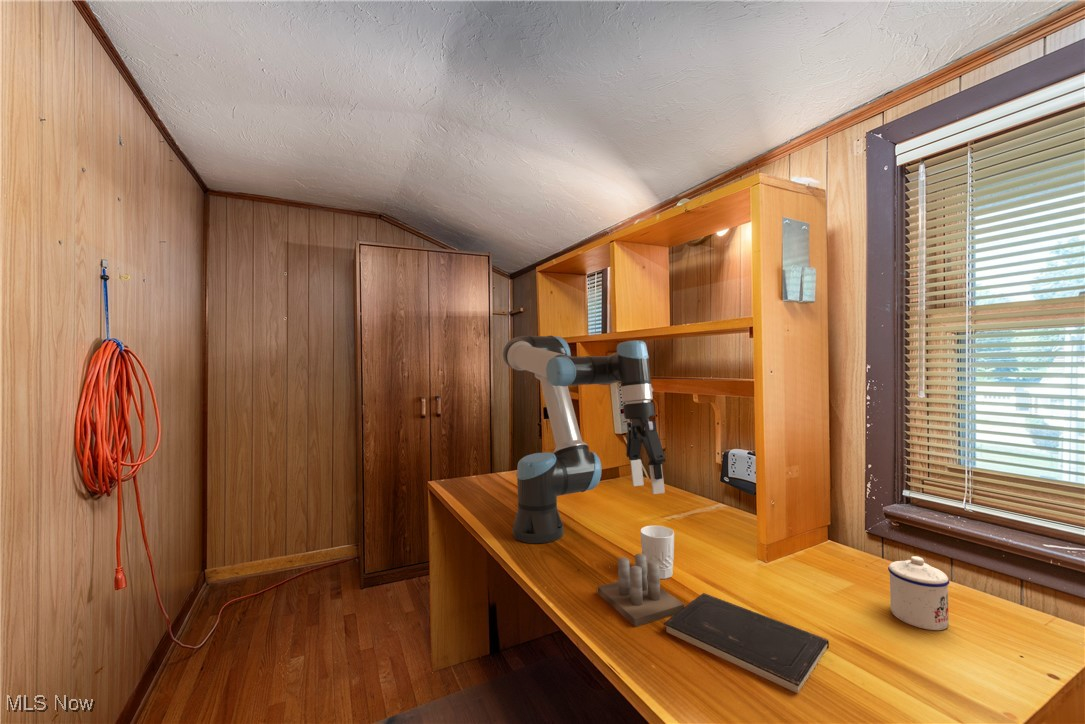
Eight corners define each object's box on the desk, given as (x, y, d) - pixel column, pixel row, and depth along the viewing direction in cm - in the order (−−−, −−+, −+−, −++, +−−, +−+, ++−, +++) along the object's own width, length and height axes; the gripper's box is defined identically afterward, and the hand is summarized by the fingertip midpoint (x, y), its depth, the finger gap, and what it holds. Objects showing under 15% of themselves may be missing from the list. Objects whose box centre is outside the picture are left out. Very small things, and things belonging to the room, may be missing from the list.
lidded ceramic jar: (949, 638, 81) (948, 573, 81) (886, 619, 87) (884, 559, 87) (951, 610, 89) (950, 551, 89) (893, 595, 96) (892, 540, 96)
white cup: (676, 581, 104) (675, 538, 104) (641, 579, 105) (640, 536, 105) (673, 566, 111) (672, 526, 111) (641, 564, 113) (640, 524, 113)
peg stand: (597, 593, 99) (596, 554, 99) (642, 581, 104) (641, 544, 104) (635, 626, 86) (634, 582, 86) (684, 611, 91) (683, 569, 91)
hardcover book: (798, 699, 68) (798, 684, 68) (664, 634, 85) (663, 622, 85) (829, 650, 79) (828, 637, 79) (704, 602, 96) (704, 591, 96)
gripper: (673, 398, 101) (685, 495, 98) (635, 403, 125) (644, 481, 123) (641, 401, 100) (652, 499, 97) (609, 405, 124) (617, 484, 122)
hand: (647, 489), depth 110 cm, fingers open, 13 cm apart
